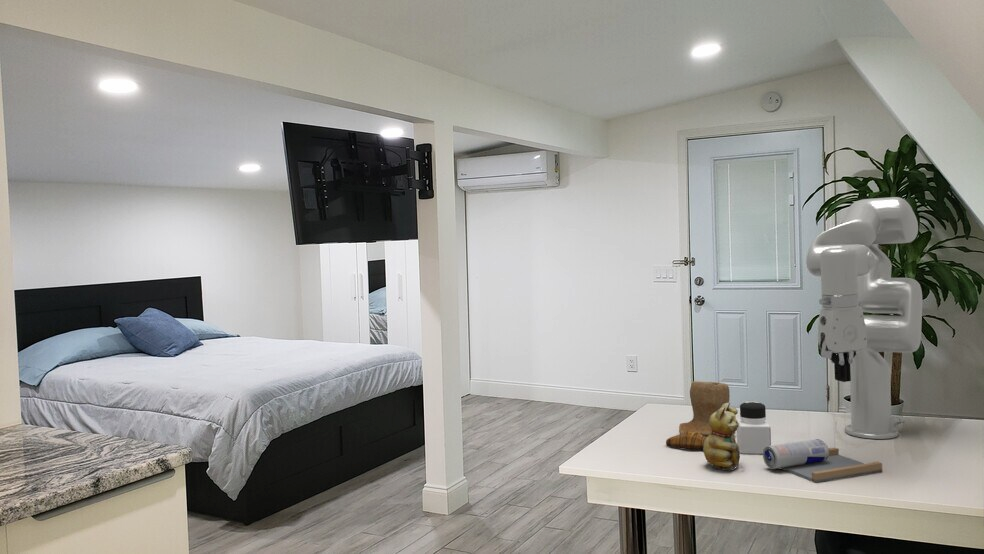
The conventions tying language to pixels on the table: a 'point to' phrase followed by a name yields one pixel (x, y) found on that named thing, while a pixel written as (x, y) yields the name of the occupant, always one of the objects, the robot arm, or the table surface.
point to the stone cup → (705, 405)
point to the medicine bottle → (753, 428)
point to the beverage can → (795, 453)
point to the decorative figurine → (722, 439)
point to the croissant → (687, 441)
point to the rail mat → (834, 468)
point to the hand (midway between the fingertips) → (842, 380)
